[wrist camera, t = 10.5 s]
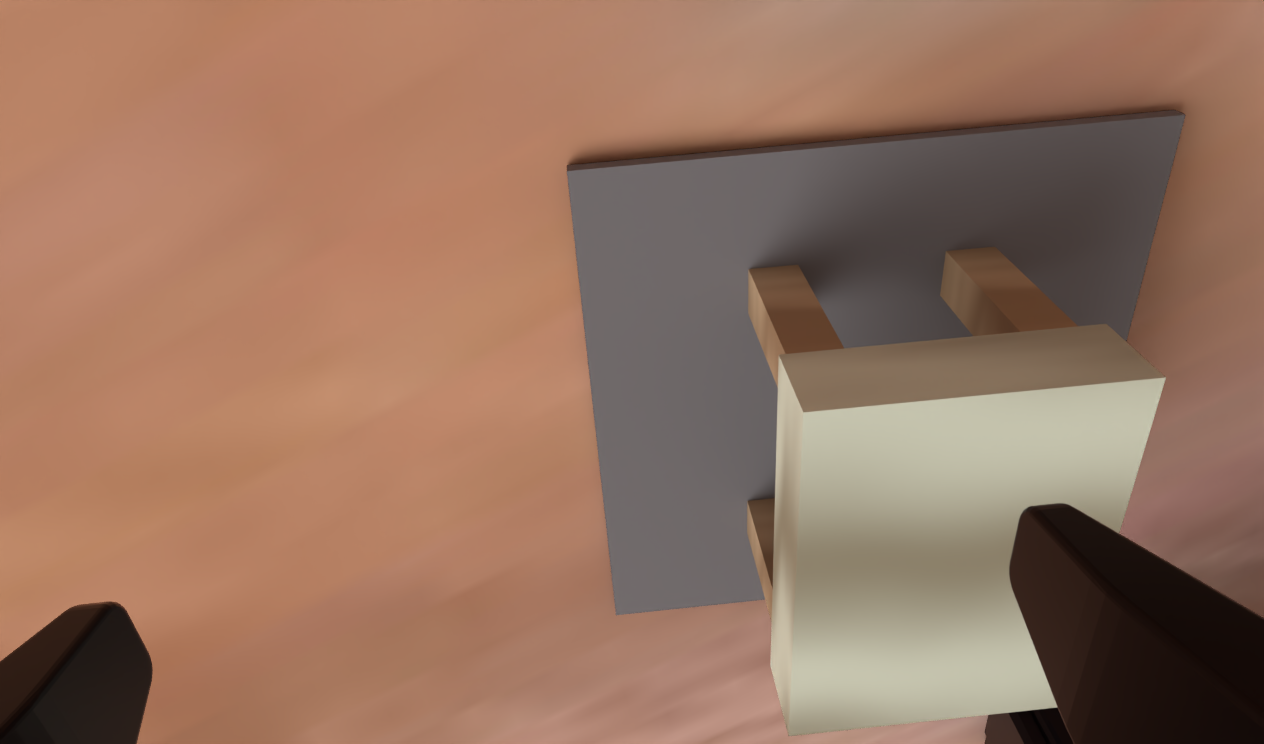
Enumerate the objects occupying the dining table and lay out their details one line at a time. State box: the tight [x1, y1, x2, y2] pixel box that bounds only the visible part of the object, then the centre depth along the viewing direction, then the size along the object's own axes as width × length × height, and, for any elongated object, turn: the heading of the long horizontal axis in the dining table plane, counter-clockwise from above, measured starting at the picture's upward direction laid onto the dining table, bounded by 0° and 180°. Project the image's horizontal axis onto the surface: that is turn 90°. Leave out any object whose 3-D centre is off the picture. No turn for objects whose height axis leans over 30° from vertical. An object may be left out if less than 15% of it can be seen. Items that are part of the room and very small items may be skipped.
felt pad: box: [567, 110, 1185, 615], centre depth 24 cm, size 14×14×1 cm
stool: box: [747, 247, 1166, 736], centre depth 21 cm, size 9×6×6 cm
